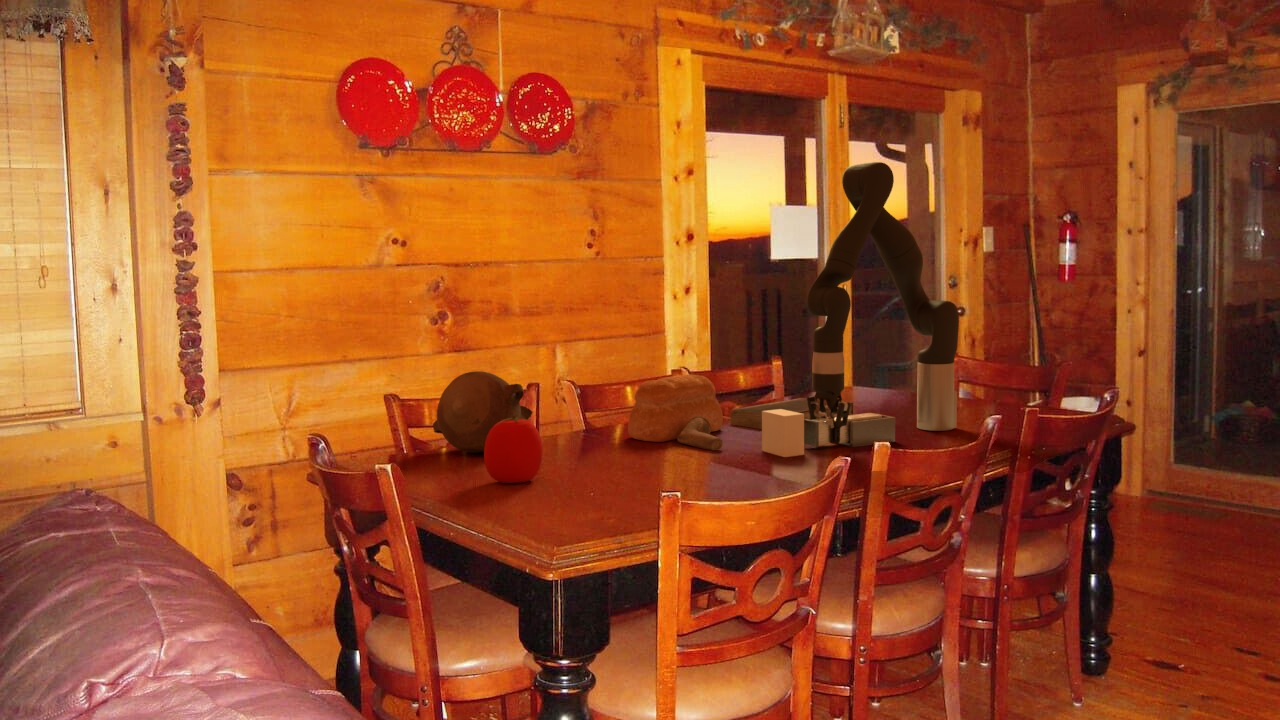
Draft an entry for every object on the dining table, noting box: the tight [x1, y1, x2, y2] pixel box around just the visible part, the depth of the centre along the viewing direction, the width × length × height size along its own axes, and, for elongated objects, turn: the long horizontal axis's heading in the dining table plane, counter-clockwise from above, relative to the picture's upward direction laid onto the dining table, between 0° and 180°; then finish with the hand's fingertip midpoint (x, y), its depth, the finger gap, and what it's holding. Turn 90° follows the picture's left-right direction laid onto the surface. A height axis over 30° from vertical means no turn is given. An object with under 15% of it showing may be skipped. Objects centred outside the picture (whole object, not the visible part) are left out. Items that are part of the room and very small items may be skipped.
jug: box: [432, 370, 533, 454], centre depth 261 cm, size 20×20×30 cm
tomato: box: [483, 415, 544, 484], centre depth 223 cm, size 13×11×14 cm
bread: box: [627, 373, 724, 443], centre depth 276 cm, size 14×26×15 cm, turn 135°
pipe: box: [676, 416, 724, 452], centre depth 261 cm, size 6×17×10 cm
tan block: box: [761, 409, 805, 458], centre depth 249 cm, size 6×9×10 cm, turn 28°
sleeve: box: [837, 413, 896, 448], centre depth 260 cm, size 13×7×6 cm, turn 118°
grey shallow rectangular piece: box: [730, 397, 854, 430], centre depth 292 cm, size 29×19×5 cm, turn 131°
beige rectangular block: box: [804, 412, 883, 448], centre depth 257 cm, size 20×5×6 cm, turn 118°
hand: (828, 441), depth 255 cm, fingers closed on beige rectangular block, 4 cm apart
